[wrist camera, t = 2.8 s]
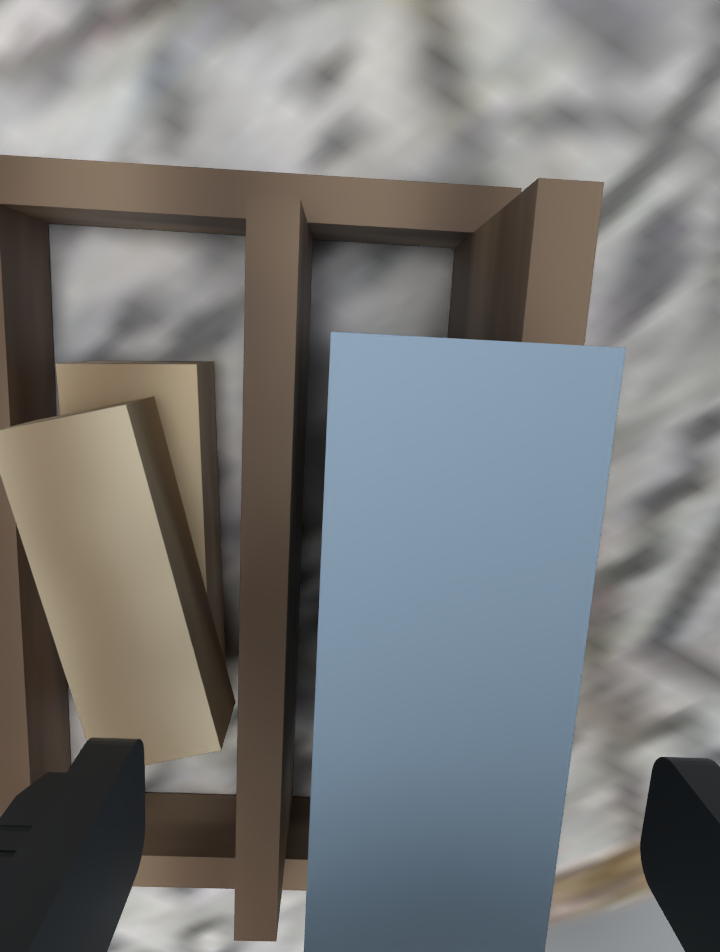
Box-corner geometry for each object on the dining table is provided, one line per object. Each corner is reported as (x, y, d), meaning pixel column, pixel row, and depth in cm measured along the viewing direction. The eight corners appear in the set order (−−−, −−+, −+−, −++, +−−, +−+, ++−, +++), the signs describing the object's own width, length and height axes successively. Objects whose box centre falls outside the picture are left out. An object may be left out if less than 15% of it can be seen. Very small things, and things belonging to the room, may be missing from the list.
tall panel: (416, 342, 21) (625, 348, 5) (389, 727, 24) (476, 1455, 8) (340, 338, 21) (331, 332, 5) (322, 725, 24) (282, 1456, 8)
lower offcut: (216, 361, 22) (196, 364, 19) (229, 689, 24) (213, 738, 21) (94, 360, 21) (55, 363, 18) (119, 690, 24) (89, 739, 21)
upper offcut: (154, 396, 19) (126, 404, 16) (235, 701, 21) (221, 750, 18) (33, 420, 19) (-14, 432, 16) (125, 723, 21) (97, 774, 18)
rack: (495, 210, 20) (612, 110, 12) (439, 828, 25) (493, 1096, 16) (6, 179, 20) (-265, 50, 11) (40, 817, 24) (-132, 1088, 15)
